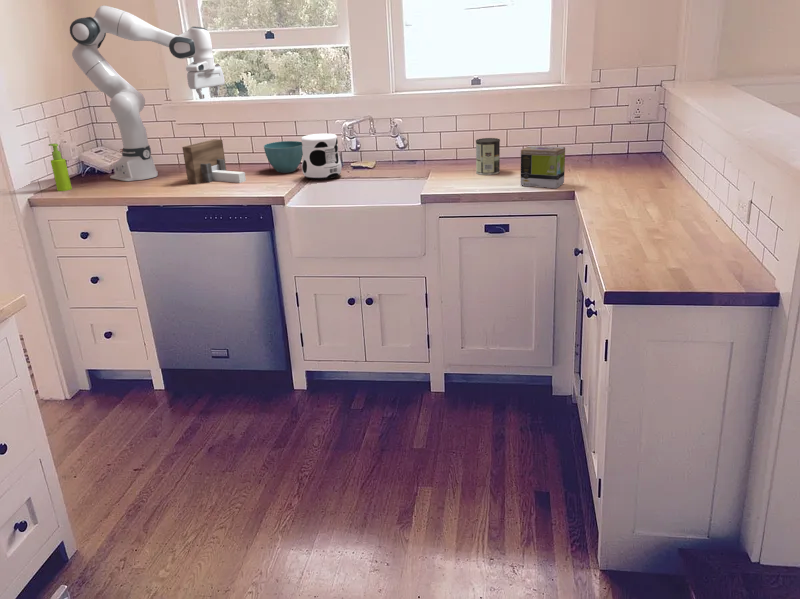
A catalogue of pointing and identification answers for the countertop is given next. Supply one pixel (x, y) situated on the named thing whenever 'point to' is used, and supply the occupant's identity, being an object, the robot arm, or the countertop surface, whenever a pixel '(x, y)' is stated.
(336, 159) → the milk container
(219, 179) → the white t-shaped piece
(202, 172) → the brown wooden block
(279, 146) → the teal bowl
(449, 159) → the countertop surface
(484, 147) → the coffee can
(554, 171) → the tea box
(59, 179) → the soap dispenser
